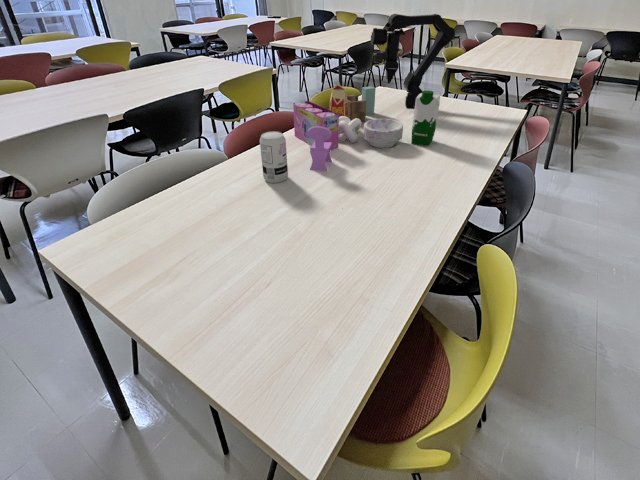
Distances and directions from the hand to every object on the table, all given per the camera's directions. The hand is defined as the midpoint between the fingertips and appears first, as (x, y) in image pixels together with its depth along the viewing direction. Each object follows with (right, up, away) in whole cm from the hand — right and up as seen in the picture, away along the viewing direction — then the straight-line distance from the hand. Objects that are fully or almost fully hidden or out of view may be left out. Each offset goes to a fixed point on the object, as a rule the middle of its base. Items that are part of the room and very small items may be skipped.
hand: (388, 80), depth 189 cm
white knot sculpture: (-23, -36, -29) cm, 52 cm away
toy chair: (-33, -51, -49) cm, 78 cm away
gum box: (-35, -37, -30) cm, 59 cm away
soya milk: (+8, -38, -32) cm, 50 cm away
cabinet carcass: (-18, -21, -7) cm, 28 cm away
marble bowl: (-8, -39, -33) cm, 51 cm away
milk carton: (-25, -28, -17) cm, 41 cm away
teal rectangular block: (-10, -16, 0) cm, 19 cm away
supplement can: (-48, -57, -58) cm, 94 cm away
